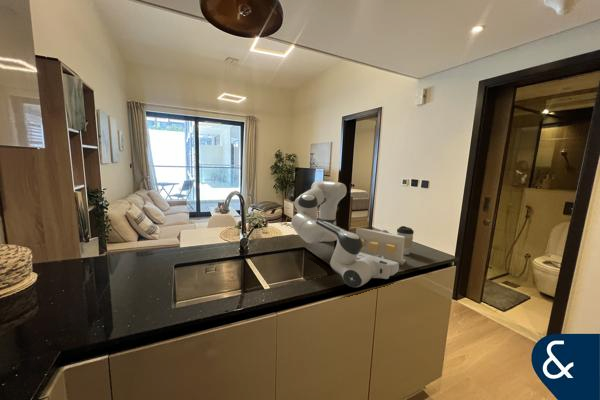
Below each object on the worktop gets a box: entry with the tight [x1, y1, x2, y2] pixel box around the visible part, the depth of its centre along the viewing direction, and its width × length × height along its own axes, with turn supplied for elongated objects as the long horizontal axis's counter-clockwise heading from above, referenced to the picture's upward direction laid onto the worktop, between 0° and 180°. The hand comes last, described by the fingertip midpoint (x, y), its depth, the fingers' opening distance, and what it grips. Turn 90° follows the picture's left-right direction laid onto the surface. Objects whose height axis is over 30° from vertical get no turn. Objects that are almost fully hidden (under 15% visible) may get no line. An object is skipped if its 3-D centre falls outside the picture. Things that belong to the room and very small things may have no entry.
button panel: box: [355, 227, 406, 266], centre depth 136 cm, size 28×5×14 cm, turn 51°
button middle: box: [369, 241, 380, 252], centre depth 132 cm, size 4×7×4 cm, turn 141°
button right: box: [386, 243, 396, 254], centre depth 129 cm, size 4×7×4 cm, turn 141°
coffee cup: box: [396, 225, 415, 256], centre depth 142 cm, size 9×9×15 cm
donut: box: [378, 229, 390, 245], centre depth 155 cm, size 10×4×10 cm, turn 120°
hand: (380, 257), depth 117 cm, fingers closed
